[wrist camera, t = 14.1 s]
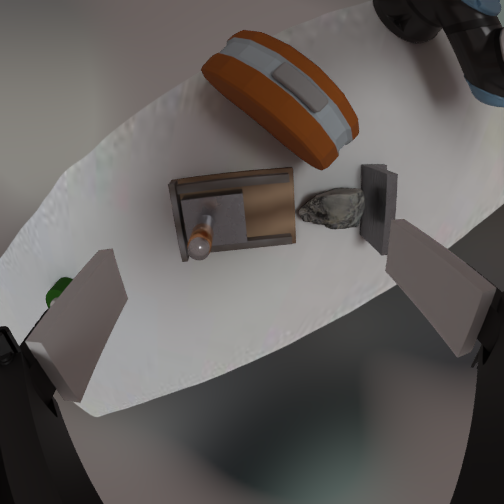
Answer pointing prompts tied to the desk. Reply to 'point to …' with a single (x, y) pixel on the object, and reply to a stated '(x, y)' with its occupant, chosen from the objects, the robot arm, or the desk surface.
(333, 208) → the stone
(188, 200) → the ram
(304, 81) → the alarm clock
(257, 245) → the brown shallow box
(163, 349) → the desk surface
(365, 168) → the angle bracket
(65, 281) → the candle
